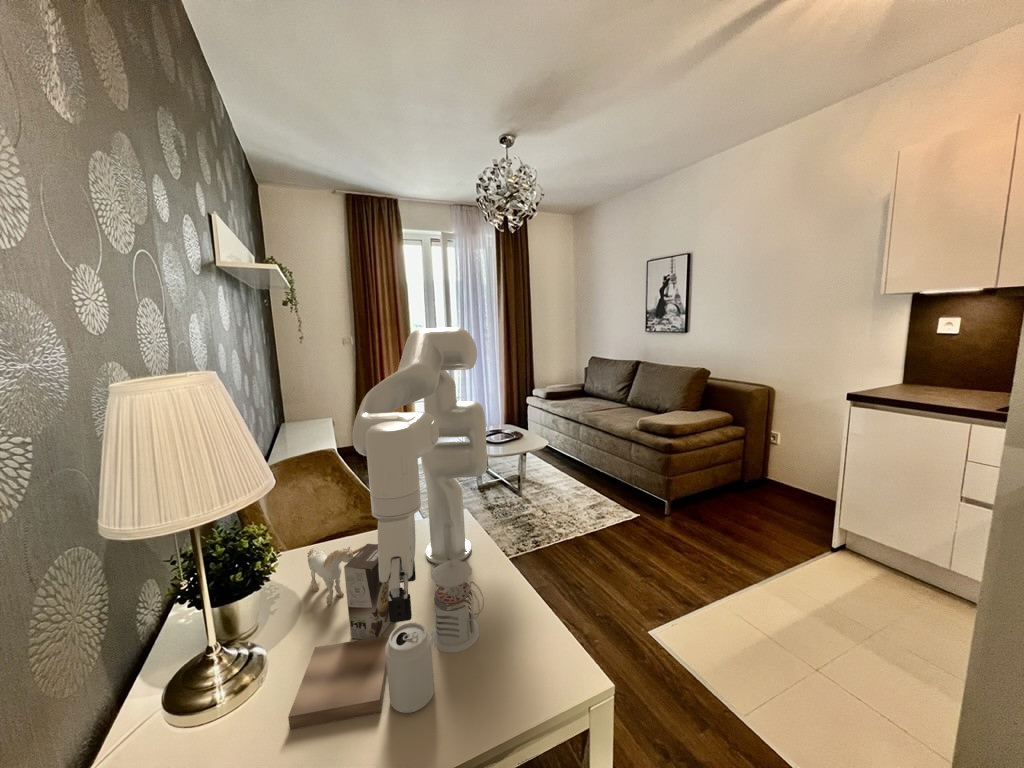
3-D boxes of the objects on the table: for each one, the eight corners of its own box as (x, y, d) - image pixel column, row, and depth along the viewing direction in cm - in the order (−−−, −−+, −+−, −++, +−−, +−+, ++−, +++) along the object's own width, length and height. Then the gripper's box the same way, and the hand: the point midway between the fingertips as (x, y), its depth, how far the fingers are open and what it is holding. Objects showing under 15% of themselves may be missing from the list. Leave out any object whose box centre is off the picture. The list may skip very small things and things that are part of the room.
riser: (316, 658, 78) (315, 647, 77) (391, 646, 80) (390, 635, 80) (290, 730, 64) (288, 716, 64) (381, 712, 66) (379, 699, 66)
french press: (449, 610, 89) (442, 505, 85) (495, 626, 84) (490, 515, 80) (421, 642, 81) (412, 527, 77) (470, 662, 75) (463, 540, 72)
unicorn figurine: (352, 615, 89) (347, 560, 87) (291, 594, 96) (284, 543, 94) (375, 595, 95) (370, 543, 93) (316, 576, 103) (310, 528, 101)
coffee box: (378, 642, 81) (371, 569, 78) (349, 638, 82) (341, 566, 80) (399, 610, 90) (393, 544, 87) (373, 607, 91) (367, 541, 89)
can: (394, 679, 72) (389, 620, 70) (436, 674, 73) (432, 615, 71) (386, 720, 65) (379, 655, 63) (432, 714, 66) (428, 649, 64)
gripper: (379, 482, 71) (387, 571, 74) (360, 529, 54) (371, 643, 57) (422, 478, 72) (428, 566, 75) (417, 523, 56) (425, 634, 58)
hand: (403, 599), depth 66 cm, fingers open, 9 cm apart
